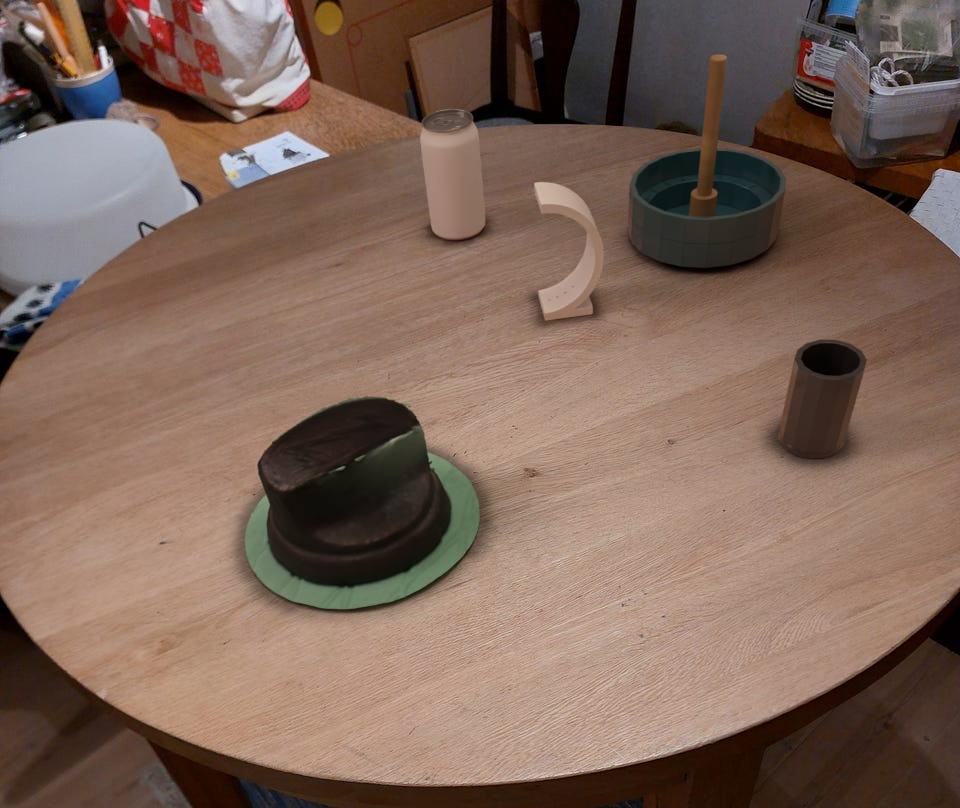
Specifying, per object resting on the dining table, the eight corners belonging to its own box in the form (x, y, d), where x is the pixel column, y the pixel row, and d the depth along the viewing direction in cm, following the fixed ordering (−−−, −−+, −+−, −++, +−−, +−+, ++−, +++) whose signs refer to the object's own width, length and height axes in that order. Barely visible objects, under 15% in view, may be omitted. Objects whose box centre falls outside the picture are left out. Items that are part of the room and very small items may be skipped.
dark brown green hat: (365, 405, 85) (534, 489, 76) (262, 574, 85) (421, 676, 76) (274, 318, 71) (468, 408, 63) (153, 519, 71) (330, 636, 63)
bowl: (756, 194, 106) (764, 140, 101) (793, 265, 95) (804, 209, 91) (618, 210, 106) (619, 157, 101) (640, 282, 96) (643, 227, 91)
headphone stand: (538, 297, 96) (533, 182, 87) (594, 289, 96) (596, 173, 87) (544, 321, 93) (540, 204, 84) (602, 313, 93) (605, 196, 84)
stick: (710, 221, 101) (729, 50, 88) (715, 234, 99) (736, 60, 86) (685, 224, 101) (701, 53, 88) (690, 236, 99) (707, 64, 86)
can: (468, 246, 104) (457, 136, 95) (421, 236, 106) (406, 128, 97) (495, 220, 107) (487, 111, 98) (449, 211, 110) (437, 104, 100)
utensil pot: (832, 415, 80) (853, 335, 74) (852, 455, 76) (876, 375, 70) (771, 422, 80) (787, 342, 74) (787, 462, 76) (806, 382, 70)
